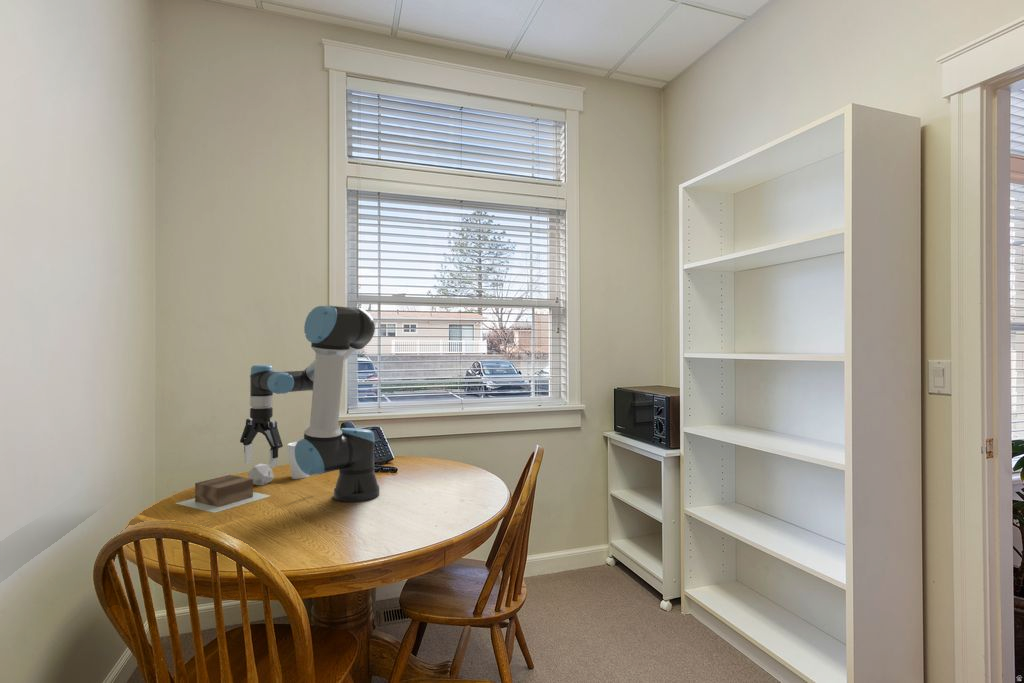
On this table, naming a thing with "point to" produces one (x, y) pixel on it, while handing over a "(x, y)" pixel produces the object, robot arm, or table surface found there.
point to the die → (261, 474)
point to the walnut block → (223, 490)
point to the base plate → (216, 509)
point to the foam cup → (294, 463)
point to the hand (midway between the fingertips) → (260, 464)
